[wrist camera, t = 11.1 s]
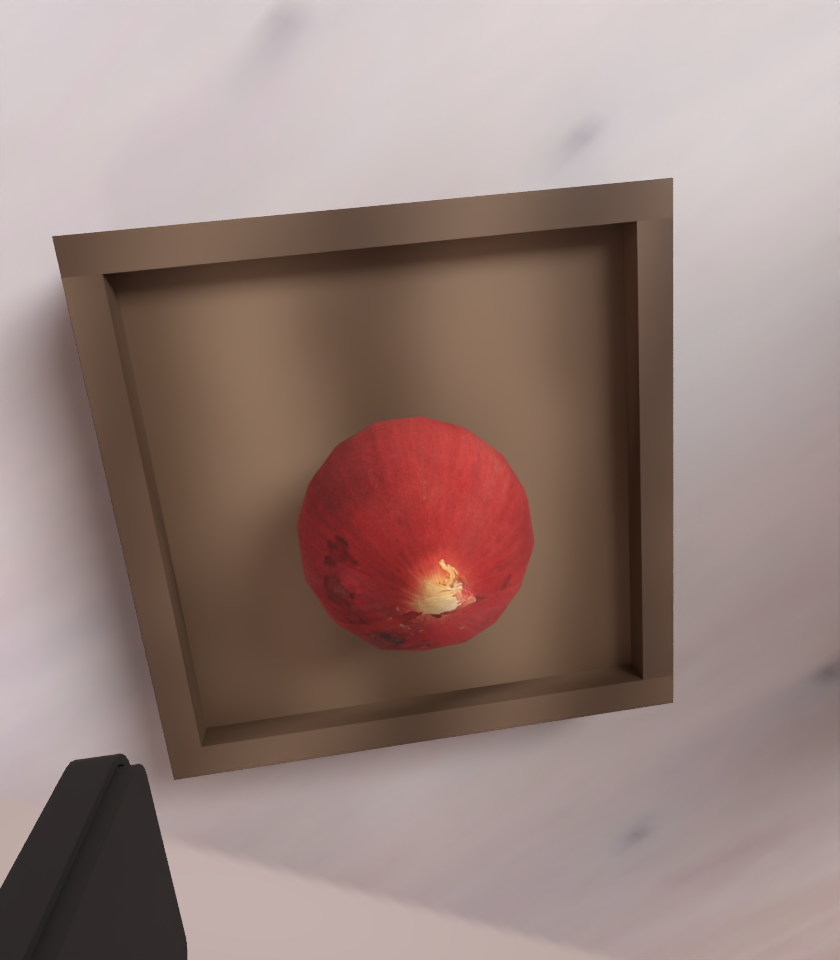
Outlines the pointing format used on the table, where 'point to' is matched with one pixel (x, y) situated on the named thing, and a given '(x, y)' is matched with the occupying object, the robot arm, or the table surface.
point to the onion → (415, 534)
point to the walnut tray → (353, 407)
